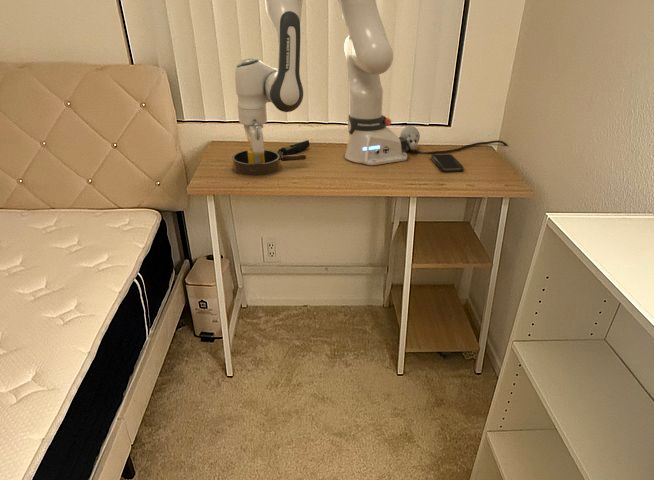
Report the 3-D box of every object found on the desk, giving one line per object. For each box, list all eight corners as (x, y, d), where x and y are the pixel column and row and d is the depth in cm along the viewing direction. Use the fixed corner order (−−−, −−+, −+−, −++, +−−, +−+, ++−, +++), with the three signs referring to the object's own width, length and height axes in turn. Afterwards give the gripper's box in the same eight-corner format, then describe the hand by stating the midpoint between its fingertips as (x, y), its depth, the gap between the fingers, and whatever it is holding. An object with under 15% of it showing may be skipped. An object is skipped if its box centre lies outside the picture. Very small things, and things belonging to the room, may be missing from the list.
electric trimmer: (312, 149, 207) (312, 140, 205) (283, 159, 197) (283, 149, 195) (304, 147, 208) (304, 138, 207) (275, 157, 198) (275, 147, 197)
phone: (442, 168, 188) (430, 154, 199) (442, 172, 188) (430, 157, 200) (464, 168, 189) (451, 154, 200) (464, 171, 189) (451, 157, 201)
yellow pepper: (264, 164, 191) (262, 145, 187) (266, 169, 187) (264, 150, 183) (248, 165, 190) (246, 146, 186) (250, 171, 186) (248, 151, 182)
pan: (276, 159, 196) (275, 148, 194) (283, 174, 184) (283, 162, 182) (231, 162, 193) (230, 151, 190) (236, 178, 181) (234, 165, 178)
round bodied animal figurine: (402, 157, 200) (404, 133, 195) (397, 147, 210) (399, 123, 205) (422, 157, 201) (424, 132, 196) (416, 147, 210) (418, 123, 205)
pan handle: (305, 158, 192) (305, 153, 191) (306, 160, 190) (306, 155, 189) (279, 160, 190) (279, 155, 189) (280, 162, 188) (280, 156, 187)
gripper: (267, 124, 171) (270, 169, 179) (258, 108, 187) (261, 150, 195) (246, 125, 170) (250, 170, 178) (239, 108, 185) (243, 151, 194)
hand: (256, 159), depth 187 cm, fingers closed on yellow pepper, 5 cm apart
